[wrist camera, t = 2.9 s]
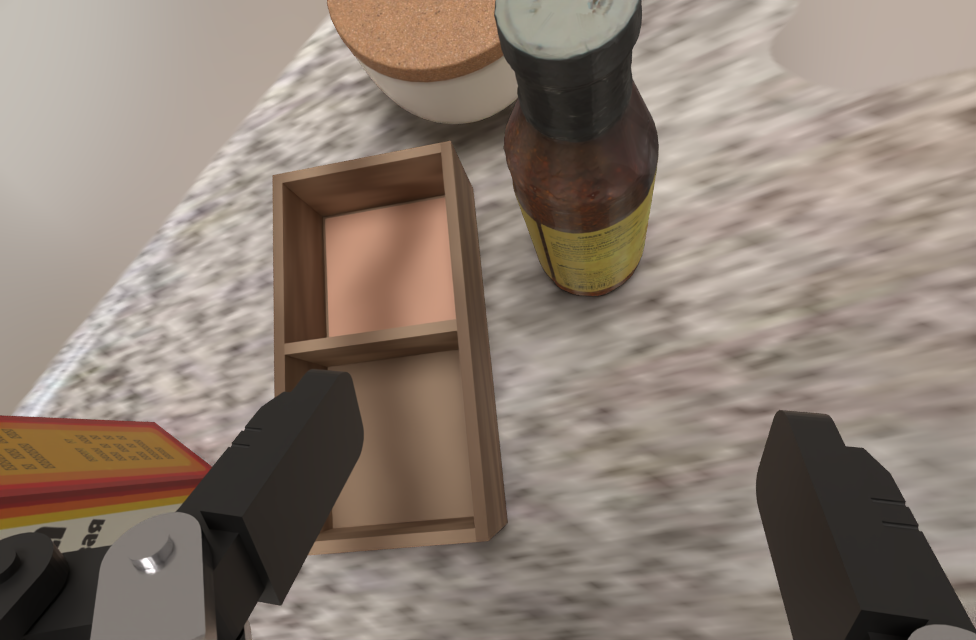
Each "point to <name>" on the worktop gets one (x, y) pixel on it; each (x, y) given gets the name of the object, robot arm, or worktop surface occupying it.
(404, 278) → the wooden compartment tray
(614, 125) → the sauce bottle
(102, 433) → the baking soda box
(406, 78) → the white lidded bowl
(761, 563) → the worktop surface
